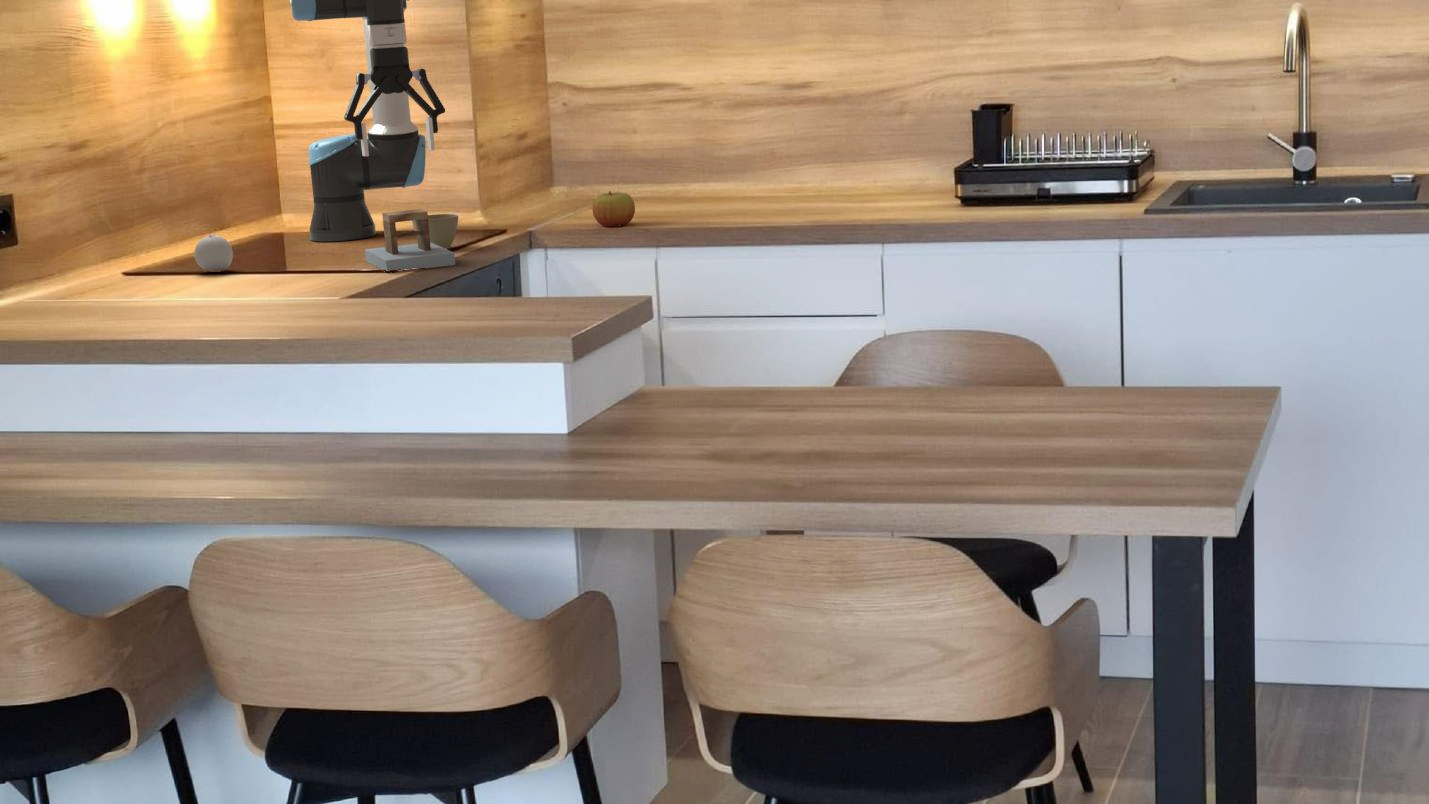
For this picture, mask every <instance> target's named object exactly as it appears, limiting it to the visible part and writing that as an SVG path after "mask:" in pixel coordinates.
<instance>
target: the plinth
mask: <svg viewBox="0 0 1429 804" xmlns="http://www.w3.org/2000/svg"><path fill="white" fill-rule="evenodd" d="M430 244H431V251H424V250H422V249H420V248H418V243H412V244H401V245H398V254H395V255H392V254H390V253H388V252H386V246H385V247H374V248H365V249H364V256H365V261H366V263H368V264H369V265H372V266H374V265H375V266H374V267H376V266H377V267H379V268H383V269H385V270H386V271H390V270H399V269H403V270H404V269H412V268H425V269H433V268H441V267H442V268H443V267H449V266H456V257H455V252H454V251H451V250H449V249H445V248H442V247H440V246H438V245H435V244H433V243H431V242H430ZM377 267H376V268H377ZM379 268H378V269H379Z"/></svg>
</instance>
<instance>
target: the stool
mask: <svg viewBox="0 0 1429 804" xmlns="http://www.w3.org/2000/svg"><path fill="white" fill-rule="evenodd" d="M428 215H429V213H428V211H427V210H424V209H422V208H418V209H417V208H416V209H406V210H398V211H387V212H382V226H383V227H382V228H383V232H384V234H383V235H384V236H383V237H384V243H385V245H384V246H385V247H386V252H388V253H390V254H392V255H395V254H398V246H399V245H398V238H402V237H412V236H416V237H417V238H416V239H417V244H418V248H420V249H422V250H424V251H431V244H430V234H429V223H428ZM413 220H416V229H417V231H415V230H412V231H402V232H397V227H396V223H403V222H412V221H413Z"/></svg>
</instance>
